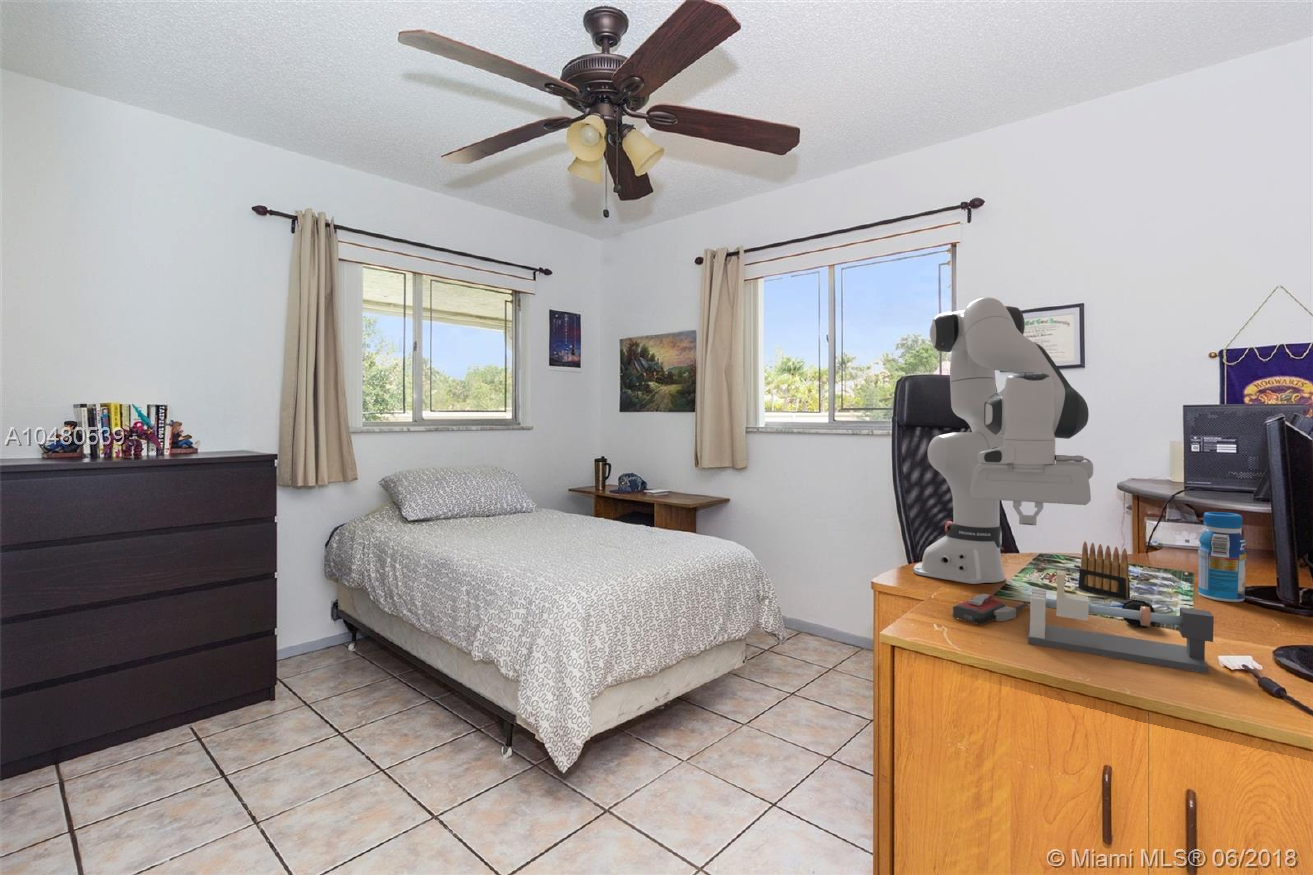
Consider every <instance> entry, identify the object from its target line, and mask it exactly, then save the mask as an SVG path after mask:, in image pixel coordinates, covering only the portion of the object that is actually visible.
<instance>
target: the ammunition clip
mask: <svg viewBox="0 0 1313 875" xmlns="http://www.w3.org/2000/svg"><path fill="white" fill-rule="evenodd" d="M1103 548H1104V547H1103V546H1102V544H1101V543H1099V544H1098V547H1097V554H1096V546H1095V544H1094V542H1092V543H1091V544H1090V547H1089V548H1088V543H1087V542H1086V541H1084V542H1083V545H1082V549H1081V551H1082V552H1081V558H1080V568H1079V572H1078V573H1079V575H1078V589H1080V590H1084V591H1088V592H1091V591H1093V592H1092V593H1096V594H1101V595H1103V596H1104V595H1105V596H1108V597H1113V598H1118V599H1120V600H1121V599H1122V600H1128V599H1131V586H1130V584H1131V583H1130V581H1131V580H1130V576H1129V571H1130V570H1129V562H1128V560H1129V559H1128V551H1127V549H1126V548H1125V547H1124V548H1123V550H1122V552H1121V555H1120V551H1119V548H1118V546H1115V547H1114V549H1113V552H1111V551H1112V550H1111V547H1110V545H1106V548H1105V552H1104V550H1103ZM1112 553H1113V554H1112ZM1120 556H1121V557H1120ZM1120 558H1121V560H1120Z"/></svg>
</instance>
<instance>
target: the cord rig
mask: <svg viewBox="0 0 1313 875" xmlns="http://www.w3.org/2000/svg"><path fill="white" fill-rule="evenodd" d="M1029 605H1030V608H1029V609H1030V611H1029V613H1030V614H1029V615H1030V616H1029V628H1028V633H1027V634H1028V635H1027V644H1030V645H1035V646H1036V645H1037V646H1042V647H1047V648H1055V649H1060V650H1066V651H1071V652H1077V653H1083V654H1089V655H1096V656H1101V657H1107V658H1113V659H1117V660H1118V659H1120V660H1124V661H1125V660H1126V661H1131V662H1136V663H1137V662H1138V663H1141V664H1148V665H1154V666H1160V667H1165V668H1172V669H1176V670H1177V669H1178V670H1183V671H1190V672H1194V673H1195V672H1196V673H1200V674H1208V675H1209V673H1210V672H1209V668H1210V667H1209V665H1208V663H1207V662H1206V660H1205V659H1206V658H1205V657H1206V656H1205V655H1206V654H1205V653H1206V642H1210V643H1214V627H1215V626H1214V622H1215V620H1214V618H1215V617H1214V615H1213V613H1212V612H1211V611H1210V610H1205V609H1197V608H1196V609H1195V608H1189V607H1181V606H1180V607H1179V615H1173V614H1165V613H1158V612H1155V613H1151V612H1150V607H1144V606H1141V608H1140V611H1136V610H1129V609H1122V608H1121V607H1111V606H1104V605H1097V604H1090V603H1089V613H1088V614H1095V615H1102V616H1110V617H1117V618H1129V619H1136V620H1140V623H1141V625H1143V626H1148V627H1150V626H1151V625H1150V623H1151V622H1153V623H1160V624H1167V625H1173V626H1178V629H1179V631H1178V632H1179V633H1180V635H1181V637H1182V638H1184V639H1186V645H1181V644H1174V643H1169V642H1163V641H1155V640H1150V639H1149V640H1148V639H1142V638H1135V637H1128V636H1124V635H1123V636H1122V635H1115V634H1109V633H1105V632H1104V633H1103V632H1097V631H1091V630H1082V629H1077V628H1070V627H1063V626H1057V625H1050V624H1047V623H1046V622H1047V620H1046V619H1047V617H1046V614H1047V608H1051V609H1052V608H1053V609H1057V599H1054V598H1053V599H1052V598H1047V589H1044V588H1036V587H1032V588H1031V593H1030V604H1029Z"/></svg>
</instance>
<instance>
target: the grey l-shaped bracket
mask: <svg viewBox="0 0 1313 875" xmlns="http://www.w3.org/2000/svg"><path fill="white" fill-rule="evenodd" d="M1065 574H1066V572H1065V570H1059V569H1058V570H1057V571H1056V575H1057V576H1056V600H1057V608H1056V617H1061V618H1069V619H1074V620H1075V619H1077V620H1082V621H1089V614H1090V613H1089V604H1090V603H1089V602H1090V600H1089V597H1088V596H1086V595H1078V594H1070V593H1065V582H1066V581H1065V580H1066V579H1065V577H1066V576H1065Z"/></svg>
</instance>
